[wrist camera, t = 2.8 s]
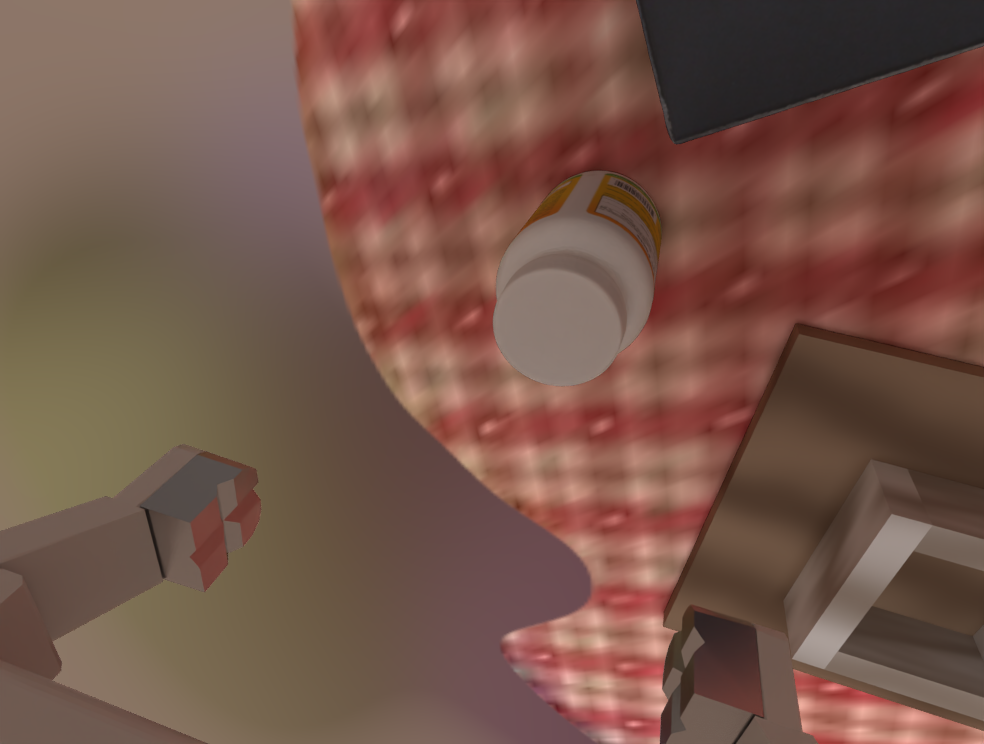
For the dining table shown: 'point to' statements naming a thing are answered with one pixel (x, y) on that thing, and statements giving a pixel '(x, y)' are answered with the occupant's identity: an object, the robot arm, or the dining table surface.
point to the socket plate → (858, 523)
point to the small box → (789, 52)
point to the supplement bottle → (578, 279)
